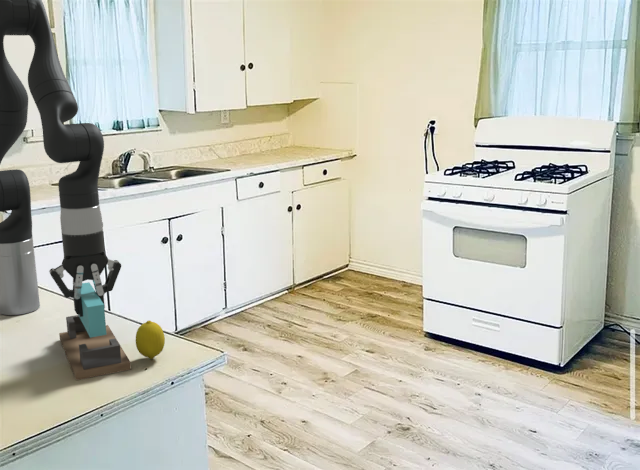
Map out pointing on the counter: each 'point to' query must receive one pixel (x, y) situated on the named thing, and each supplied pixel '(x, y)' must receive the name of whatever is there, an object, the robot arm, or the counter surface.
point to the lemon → (150, 339)
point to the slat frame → (92, 351)
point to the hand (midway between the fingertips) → (90, 313)
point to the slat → (92, 311)
